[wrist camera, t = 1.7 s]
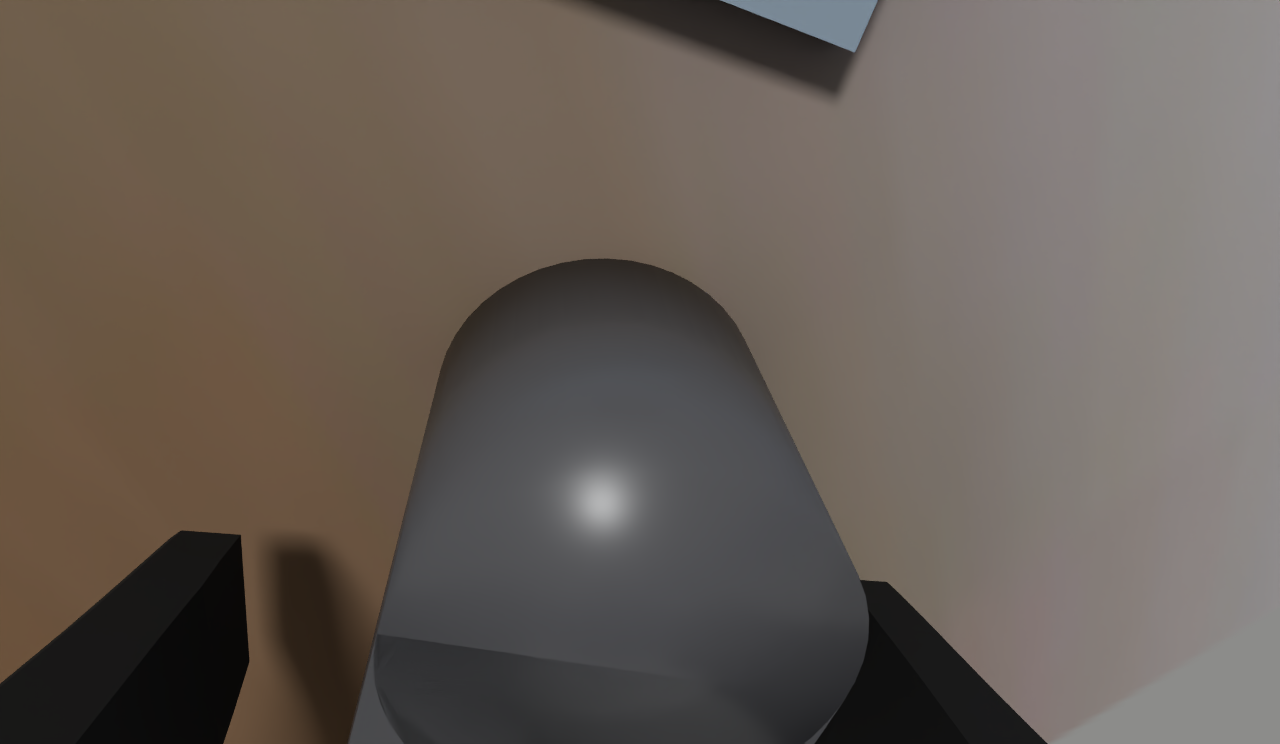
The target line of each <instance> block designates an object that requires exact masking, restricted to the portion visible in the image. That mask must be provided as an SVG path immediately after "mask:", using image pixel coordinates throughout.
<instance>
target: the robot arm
mask: <svg viewBox="0 0 1280 744" xmlns="http://www.w3.org/2000/svg"><path fill="white" fill-rule="evenodd" d="M860 582H861V584H862V587H863V590H864V593H865V595H866V601H867V608H868V614H869V633H868V643H867V647H866V652H865V656H864V661H863V664H862V666H861V668H860V671H859V673H858V676H857V678H856V681H855V683H854V685H853V686H852V688H851V690H850V691H849V693H848V695H847V696H846V698H845V700H844V701H843V703H842V704H841V706H840V707H839V709H838V710H837V712H836V713H835V715H834V716H833V718H832V719H831V720H830V722H829V723H828V725H827V726H826V728H825V729H824V731H823V732H822V734H821V735H820V736H819V738H818V739H817V741H816V742H815V744H1047V743H1046V742H1045V741H1044V740H1043V739H1042V738H1041V737H1040V736H1039V735H1038V734H1037V733H1036V732H1035V731H1034V730H1033V729H1032V728H1031V727H1030V726H1029V725H1028V724H1027V723H1026V722H1025V721H1024V720H1023V719H1022V718H1021V717H1020V716H1019V715H1018V714H1017V713H1016V712H1015V711H1014V710H1013V709H1012V708H1011V707H1010V706H1009V705H1008V704H1007V703H1006V702H1005V701H1004V700H1003V699H1002V698H1001V697H1000V696H999V695H998V694H997V693H996V692H995V691H994V690H993V689H992V688H991V687H990V686H989V685H988V684H987V683H986V682H985V681H984V680H983V679H982V678H981V677H980V676H979V675H978V674H977V672H976V671H975V670H974V669H973V668H972V667H971V666H970V665H969V664H968V663H967V662H966V661H965V660H964V659H963V658H962V657H961V656H960V655H959V654H958V653H957V652H956V651H955V650H954V649H953V648H952V647H951V646H950V645H949V644H948V643H947V642H946V641H945V639H944V638H943V637H942V636H941V635H940V634H939V633H938V632H937V631H936V630H935V629H934V628H933V627H932V626H931V625H930V624H929V623H928V622H927V621H926V620H925V619H924V618H923V617H922V616H921V615H920V614H919V613H918V612H917V611H916V610H915V609H914V608H913V607H912V606H911V605H910V604H909V603H908V602H907V601H906V600H905V599H904V598H903V597H902V596H901V595H900V594H899V593H898V592H897V591H896V590H895V589H894V588H893V587H892V586H891V585H890V584H888V583H887V582H879V581H865V580H860ZM248 664H249V649H248V634H247V620H246V605H245V590H244V576H243V561H242V547H241V535H235V534H221V533H208V532H194V531H180V532H178V533H177V534H176V535H174V536H173V537H171V538H170V539H169V540H168V541H167V542H165V543H164V544H163V545H162V546H161V547H160V548H159V549H157V550H156V551H155V552H154V553H153V554H152V555H151V556H149V557H148V558H147V559H146V560H145V561H144V562H143V563H142V564H140V565H139V566H138V567H137V568H136V569H135V570H134V571H132V572H131V573H130V574H129V575H128V576H127V577H126V578H125V579H123V580H122V581H121V582H120V583H119V584H118V585H117V586H115V587H114V588H113V589H112V590H111V591H110V592H109V593H107V594H106V595H105V596H104V597H103V598H102V599H101V600H99V601H98V602H97V603H96V604H95V605H94V606H92V607H91V608H90V609H89V610H88V611H87V612H85V613H84V614H83V615H82V616H81V617H80V618H78V619H77V620H76V621H75V622H74V623H73V624H72V625H70V626H69V627H68V628H67V629H66V630H65V631H63V632H62V633H61V634H60V635H59V636H57V637H56V638H55V639H54V640H53V641H51V642H50V643H49V644H48V645H46V646H45V647H44V648H43V649H42V650H40V651H39V652H38V653H37V654H36V655H34V656H33V657H32V658H31V659H30V660H28V661H27V662H26V663H25V664H24V665H22V666H21V667H20V668H19V669H17V670H16V671H15V672H14V673H13V674H11V675H10V676H9V677H8V678H7V679H5V680H4V681H3V682H2V683H1V684H0V744H223V743H224V740H225V737H226V734H227V731H228V728H229V725H230V722H231V719H232V716H233V713H234V709H235V706H236V703H237V700H238V697H239V693H240V690H241V687H242V684H243V681H244V677H245V674H246V671H247V668H248Z"/></svg>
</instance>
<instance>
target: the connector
mask: <svg viewBox="0 0 1280 744" xmlns="http://www.w3.org/2000/svg"><path fill="white" fill-rule="evenodd" d="M868 633H869V614H868V608H867V601H866V595H865V593H864V590H863V587H862V584H861V582H860V579H859V576H858V574H857V572H856V569H855V567H854V565H853V563H852V561H851V559H850V557H849V555H848V553H847V551H846V549H845V547H844V545H843V543H842V540H841V538H840V536H839V534H838V532H837V530H836V528H835V526H834V524H833V522H832V520H831V518H830V516H829V514H828V511H827V509H826V507H825V505H824V503H823V501H822V499H821V497H820V495H819V493H818V491H817V489H816V487H815V485H814V482H813V480H812V478H811V476H810V474H809V472H808V470H807V468H806V466H805V464H804V462H803V460H802V458H801V456H800V453H799V451H798V449H797V447H796V445H795V443H794V441H793V439H792V437H791V435H790V433H789V431H788V429H787V427H786V424H785V422H784V420H783V418H782V416H781V414H780V412H779V410H778V408H777V406H776V404H775V402H774V400H773V398H772V395H771V393H770V391H769V389H768V387H767V385H766V383H765V381H764V379H763V377H762V375H761V373H760V371H759V368H758V366H757V364H756V362H755V360H754V358H753V356H752V354H751V352H750V350H749V348H748V346H747V344H746V342H745V339H744V338H743V336H742V334H741V332H740V331H739V329H738V327H737V325H736V324H735V322H734V321H733V320H732V319H731V317H730V316H729V315H728V313H727V312H726V311H725V310H724V308H723V307H722V306H720V305H719V304H718V303H717V302H716V301H715V300H714V299H713V298H712V297H711V296H710V295H709V294H707V293H706V292H704V291H703V290H702V289H700V288H699V287H697V286H696V285H695V284H693V283H692V282H690V281H688V280H686V279H684V278H682V277H680V276H678V275H676V274H674V273H672V272H669V271H666V270H664V269H661V268H658V267H655V266H652V265H648V264H643V263H639V262H634V261H628V260H617V259H584V260H577V261H571V262H565V263H560V264H556V265H553V266H549V267H546V268H542V269H539V270H537V271H534V272H532V273H530V274H527V275H525V276H523V277H520V278H518V279H517V280H515V281H513V282H511V283H510V284H508V285H506V286H505V287H503V288H501V289H500V290H498V291H497V292H496V293H494V294H493V295H492V296H491V297H489V298H488V299H487V300H486V301H484V302H483V303H482V304H481V305H480V306H479V307H478V308H477V309H476V310H475V311H474V312H473V313H472V314H471V315H470V316H469V317H468V318H467V320H466V321H465V322H464V324H463V325H462V327H461V328H460V329H459V331H458V332H457V334H456V335H455V337H454V339H453V341H452V343H451V345H450V347H449V349H448V350H447V352H446V355H445V358H444V361H443V364H442V367H441V370H440V374H439V378H438V382H437V386H436V390H435V394H434V398H433V402H432V406H431V410H430V414H429V418H428V422H427V426H426V430H425V434H424V438H423V442H422V446H421V450H420V454H419V458H418V462H417V466H416V470H415V473H414V477H413V481H412V485H411V489H410V493H409V497H408V501H407V505H406V509H405V513H404V517H403V521H402V525H401V529H400V533H399V537H398V541H397V545H396V549H395V553H394V557H393V561H392V565H391V569H390V573H389V577H388V581H387V585H386V589H385V593H384V597H383V601H382V605H381V609H380V613H379V617H378V620H377V624H376V629H375V633H374V637H373V641H372V645H371V649H370V653H369V657H368V661H367V665H366V669H365V673H364V677H363V681H362V686H361V690H360V694H359V698H358V702H357V706H356V710H355V714H354V718H353V722H352V726H351V730H350V734H349V738H348V743H347V744H815V742H816V741H817V739H818V738H819V736H820V735H821V734H822V732H823V731H824V729H825V728H826V726H827V725H828V723H829V722H830V720H831V719H832V718H833V716H834V715H835V713H836V712H837V710H838V709H839V707H840V706H841V704H842V703H843V701H844V700H845V698H846V696H847V695H848V693H849V691H850V690H851V688H852V686H853V685H854V683H855V681H856V678H857V676H858V673H859V671H860V668H861V666H862V664H863V661H864V656H865V652H866V647H867V643H868Z"/></svg>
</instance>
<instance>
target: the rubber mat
mask: <svg viewBox="0 0 1280 744" xmlns="http://www.w3.org/2000/svg"><path fill="white" fill-rule="evenodd" d="M721 1H724V2H726V3H729V4H732V5H734V6H737V7H739V8H742V9H744V10H747V11H750V12H752V13H755V14H757V15H760V16H762V17H765V18H768V19H770V20H773V21H775V22H778V23H780V24H783V25H786V26H788V27H791V28H793V29H796V30H798V31H801V32H804V33H806V34H809V35H811V36H814V37H816V38H819V39H822V40H824V41H827V42H829V43H832V44H834V45H837V46H840V47H842V48H845V49H847V50H850V51H852V52H855V51H856V49H857V46H858V44H859V42H860V40H861V37H862V35H863V33H864V30H865V28H866V26H867V24H868V21H869V19H870V17H871V15H872V12H873V10H874V8H875V6H876V3H877V1H878V0H721Z"/></svg>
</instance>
